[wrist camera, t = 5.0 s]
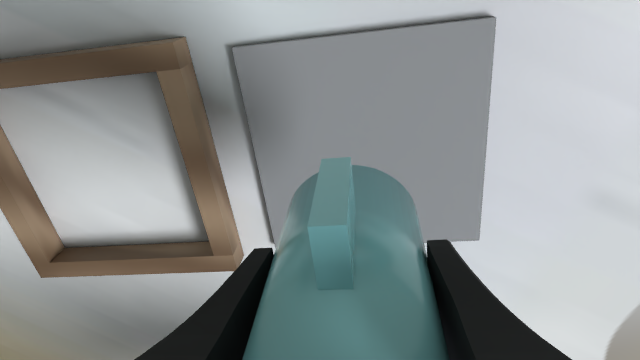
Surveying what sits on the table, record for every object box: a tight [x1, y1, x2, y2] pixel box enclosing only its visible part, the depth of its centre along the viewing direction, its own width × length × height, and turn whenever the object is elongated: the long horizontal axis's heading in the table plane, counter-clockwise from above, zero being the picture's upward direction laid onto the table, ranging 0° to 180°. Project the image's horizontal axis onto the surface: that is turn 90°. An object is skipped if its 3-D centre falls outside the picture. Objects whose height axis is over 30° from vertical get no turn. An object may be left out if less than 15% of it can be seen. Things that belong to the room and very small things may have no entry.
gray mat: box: [232, 16, 496, 248], centre depth 21 cm, size 12×12×1 cm
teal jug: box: [242, 157, 450, 360], centre depth 12 cm, size 7×5×8 cm
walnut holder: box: [0, 37, 244, 278], centre depth 23 cm, size 13×13×2 cm
